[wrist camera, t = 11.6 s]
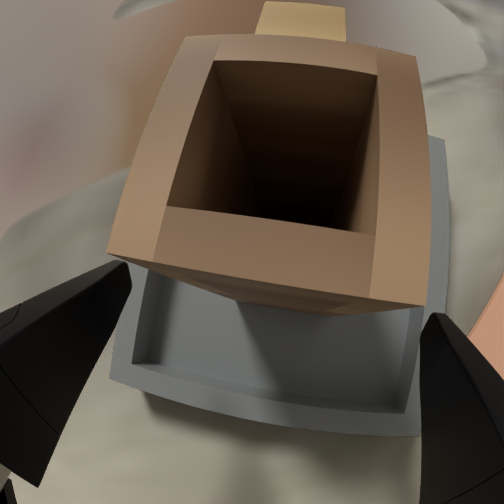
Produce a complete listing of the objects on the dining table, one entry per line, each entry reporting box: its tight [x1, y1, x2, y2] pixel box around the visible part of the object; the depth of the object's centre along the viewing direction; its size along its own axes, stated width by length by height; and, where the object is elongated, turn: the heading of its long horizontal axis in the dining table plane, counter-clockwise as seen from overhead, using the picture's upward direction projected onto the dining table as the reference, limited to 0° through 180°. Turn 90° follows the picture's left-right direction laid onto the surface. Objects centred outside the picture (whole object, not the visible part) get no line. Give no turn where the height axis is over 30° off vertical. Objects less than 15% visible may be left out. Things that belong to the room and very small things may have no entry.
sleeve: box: [106, 2, 431, 317], centre depth 11 cm, size 7×5×12 cm
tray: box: [109, 135, 450, 437], centre depth 16 cm, size 16×16×3 cm
